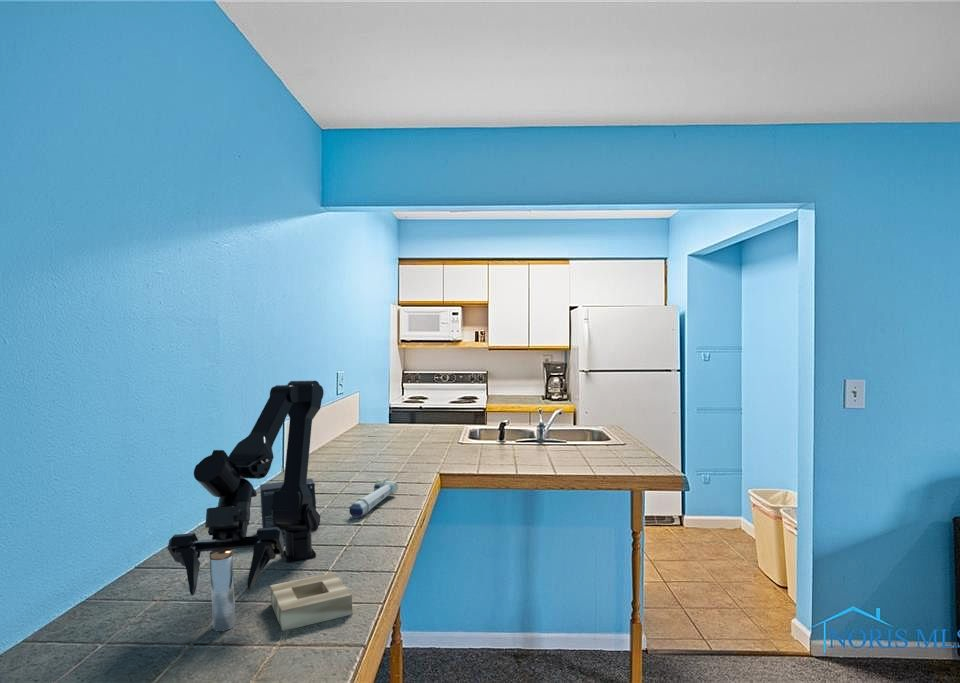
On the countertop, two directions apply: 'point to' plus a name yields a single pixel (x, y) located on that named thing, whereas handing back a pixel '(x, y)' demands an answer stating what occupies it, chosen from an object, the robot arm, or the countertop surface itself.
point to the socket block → (310, 600)
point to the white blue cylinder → (373, 497)
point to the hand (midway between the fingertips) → (220, 591)
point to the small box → (267, 501)
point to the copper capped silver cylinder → (222, 589)
